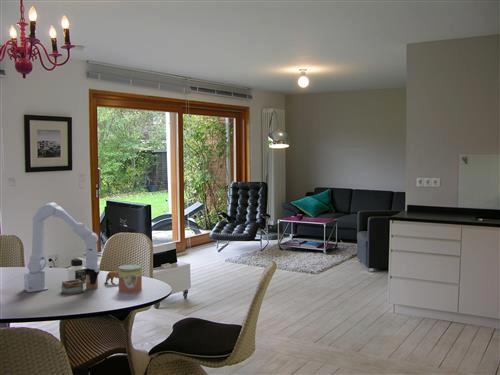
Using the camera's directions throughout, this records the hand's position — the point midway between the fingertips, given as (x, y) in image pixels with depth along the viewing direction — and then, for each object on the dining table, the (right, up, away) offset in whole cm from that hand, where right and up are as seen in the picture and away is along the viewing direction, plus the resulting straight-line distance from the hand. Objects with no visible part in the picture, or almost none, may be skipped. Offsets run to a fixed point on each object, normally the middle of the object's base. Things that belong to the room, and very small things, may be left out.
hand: (91, 283), depth 260 cm
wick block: (0, -2, 0) cm, 2 cm away
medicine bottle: (-12, -2, +15) cm, 19 cm away
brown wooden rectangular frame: (-8, 0, -6) cm, 10 cm away
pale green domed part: (-8, -3, -6) cm, 10 cm away
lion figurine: (+10, -2, +12) cm, 16 cm away
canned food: (+20, -3, -4) cm, 21 cm away
